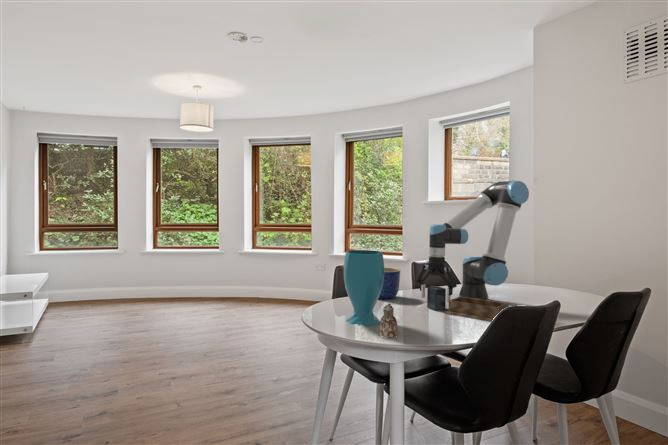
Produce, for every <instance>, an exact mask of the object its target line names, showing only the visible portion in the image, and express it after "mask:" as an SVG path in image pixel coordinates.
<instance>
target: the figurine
mask: <svg viewBox="0 0 668 445" xmlns="http://www.w3.org/2000/svg"><path fill="white" fill-rule="evenodd" d="M394 310H395V309H394V307H393V305H392V304H391V303H388V304H386V305H385V306H384V307H383V311H382V312H383V315H382V317H381V318H380V320H379V321H380V323H379V330H378V335H381V336H383V337H396V336H397V337H398V334H399V329H398V321H397V318H396V316H394ZM381 336H380V337H381ZM383 337H382V338H383ZM397 337H396V338H397Z"/></svg>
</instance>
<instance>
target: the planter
mask: <svg viewBox="0 0 668 445" xmlns="http://www.w3.org/2000/svg"><path fill="white" fill-rule="evenodd" d="M400 281H401V269H399V268H395V267H385V266H384V281H383V286H382V290H381V293H380V296H379V298H378V299H381V300H386V299H393V298H395V297H396V296H397V295H398V293H399V289H400Z"/></svg>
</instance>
